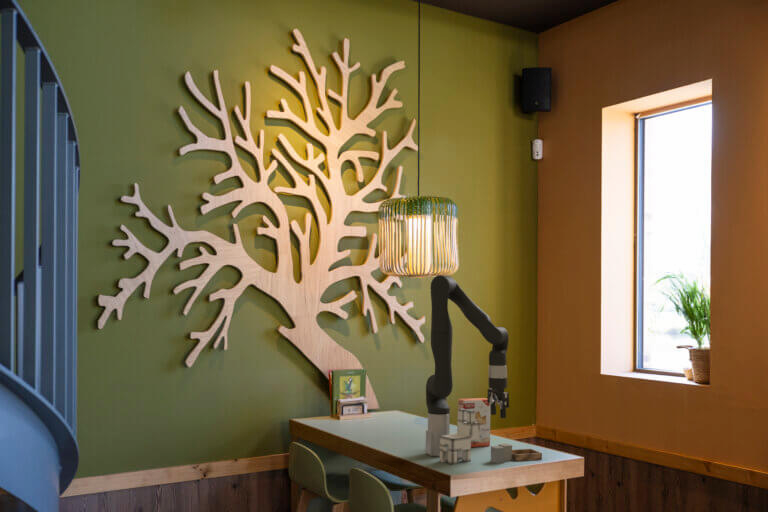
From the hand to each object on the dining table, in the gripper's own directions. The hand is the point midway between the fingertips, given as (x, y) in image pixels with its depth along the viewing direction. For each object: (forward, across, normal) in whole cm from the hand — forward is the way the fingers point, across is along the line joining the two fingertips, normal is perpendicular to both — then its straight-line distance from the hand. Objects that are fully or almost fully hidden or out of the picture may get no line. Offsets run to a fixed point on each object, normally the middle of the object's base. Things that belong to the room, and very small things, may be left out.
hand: (498, 416), depth 297 cm
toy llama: (+18, -6, -16) cm, 25 cm away
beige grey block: (+18, -3, +4) cm, 19 cm away
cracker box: (+18, -31, +4) cm, 36 cm away
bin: (+18, -4, +13) cm, 23 cm away
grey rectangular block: (+18, 0, -1) cm, 18 cm away
